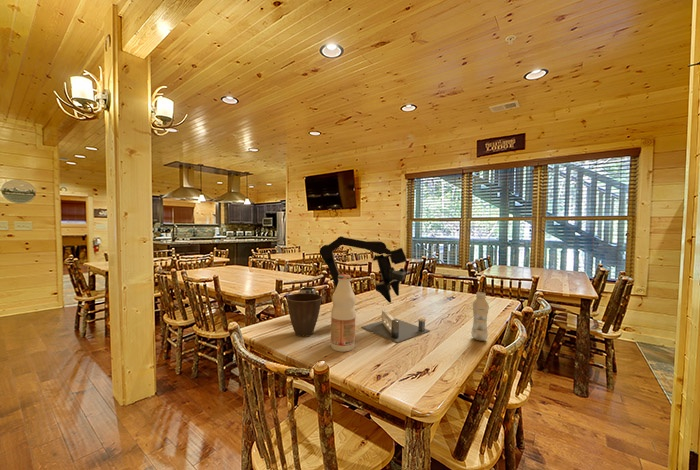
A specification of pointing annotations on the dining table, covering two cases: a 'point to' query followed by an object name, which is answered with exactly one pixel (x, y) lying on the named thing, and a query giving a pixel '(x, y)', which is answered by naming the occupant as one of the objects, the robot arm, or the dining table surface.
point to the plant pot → (304, 312)
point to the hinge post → (395, 329)
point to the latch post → (421, 324)
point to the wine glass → (308, 290)
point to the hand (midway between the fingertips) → (394, 298)
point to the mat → (404, 330)
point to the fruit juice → (343, 316)
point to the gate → (385, 318)
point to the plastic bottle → (480, 317)
